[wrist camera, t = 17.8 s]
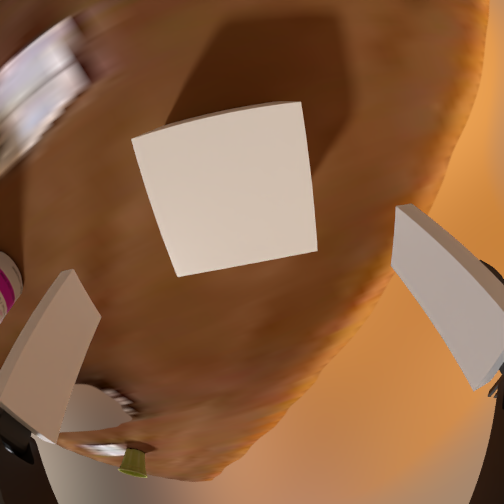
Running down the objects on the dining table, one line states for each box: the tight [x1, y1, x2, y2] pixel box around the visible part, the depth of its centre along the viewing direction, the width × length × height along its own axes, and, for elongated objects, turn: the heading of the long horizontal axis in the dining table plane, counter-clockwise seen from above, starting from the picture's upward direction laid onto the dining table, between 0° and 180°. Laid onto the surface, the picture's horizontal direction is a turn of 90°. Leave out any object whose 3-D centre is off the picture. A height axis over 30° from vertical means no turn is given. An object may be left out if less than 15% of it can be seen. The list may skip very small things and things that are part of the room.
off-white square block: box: [131, 101, 317, 277], centre depth 21 cm, size 10×10×9 cm
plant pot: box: [118, 448, 147, 478], centre depth 61 cm, size 9×9×9 cm
